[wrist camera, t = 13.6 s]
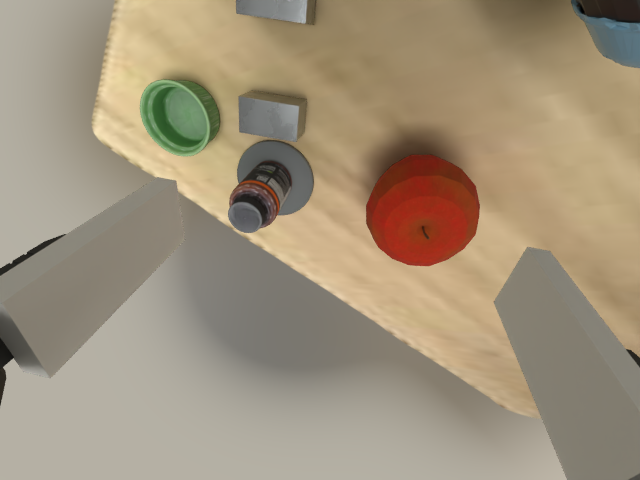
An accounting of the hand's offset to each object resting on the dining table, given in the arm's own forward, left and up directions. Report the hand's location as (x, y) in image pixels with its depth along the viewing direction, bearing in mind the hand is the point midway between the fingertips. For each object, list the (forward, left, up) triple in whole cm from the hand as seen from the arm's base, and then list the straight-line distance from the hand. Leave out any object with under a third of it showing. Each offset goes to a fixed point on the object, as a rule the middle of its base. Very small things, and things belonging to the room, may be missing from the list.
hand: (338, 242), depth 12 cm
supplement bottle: (+12, -11, -30) cm, 34 cm away
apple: (+9, +8, -31) cm, 33 cm away
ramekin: (+5, -23, -31) cm, 39 cm away
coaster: (+12, -11, -31) cm, 35 cm away
